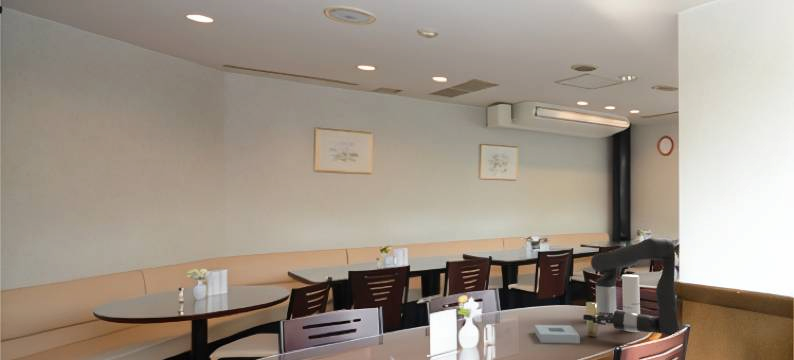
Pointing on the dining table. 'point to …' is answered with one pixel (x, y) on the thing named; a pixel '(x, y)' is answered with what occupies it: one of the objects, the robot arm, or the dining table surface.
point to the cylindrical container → (631, 294)
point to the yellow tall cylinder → (591, 327)
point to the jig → (556, 334)
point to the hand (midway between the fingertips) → (585, 315)
